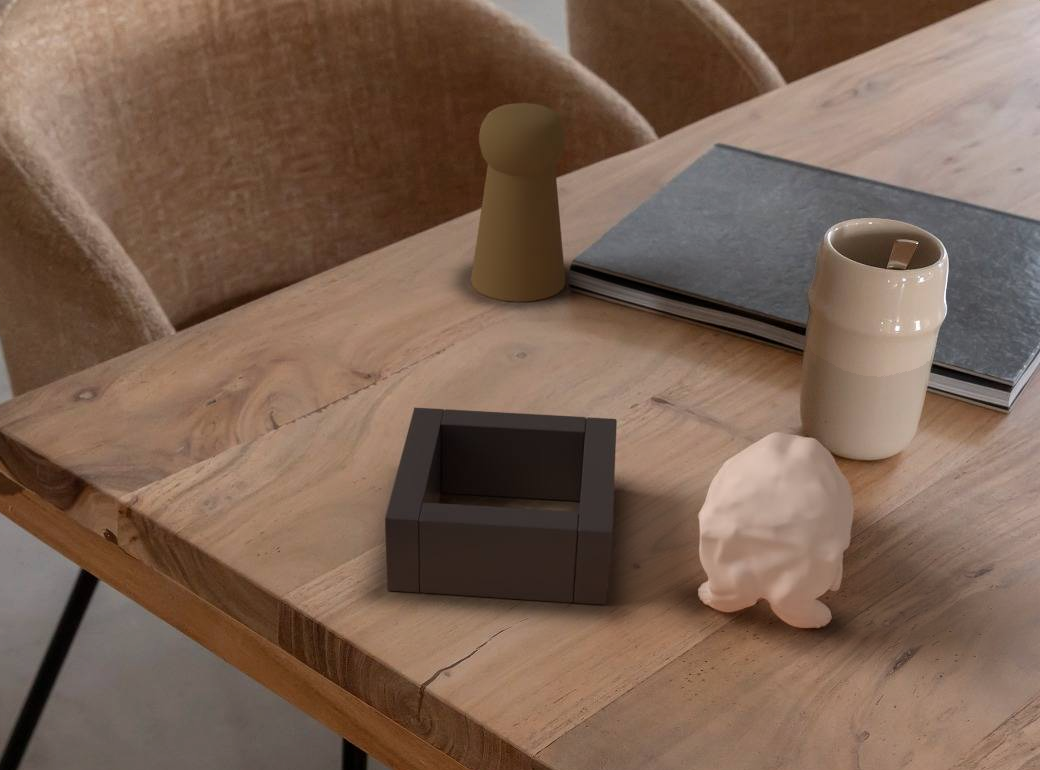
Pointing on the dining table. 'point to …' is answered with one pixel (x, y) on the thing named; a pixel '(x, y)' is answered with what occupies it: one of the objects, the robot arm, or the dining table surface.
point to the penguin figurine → (776, 529)
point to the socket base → (498, 530)
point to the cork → (520, 205)
